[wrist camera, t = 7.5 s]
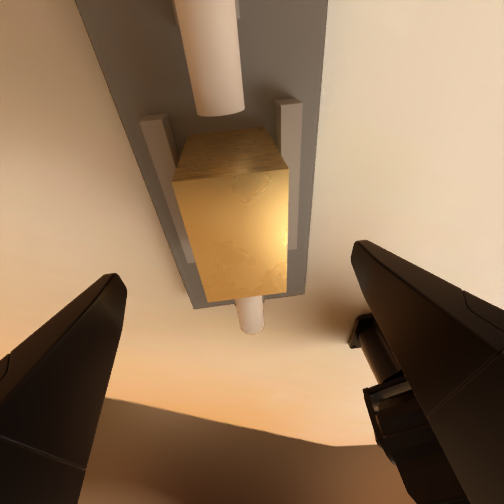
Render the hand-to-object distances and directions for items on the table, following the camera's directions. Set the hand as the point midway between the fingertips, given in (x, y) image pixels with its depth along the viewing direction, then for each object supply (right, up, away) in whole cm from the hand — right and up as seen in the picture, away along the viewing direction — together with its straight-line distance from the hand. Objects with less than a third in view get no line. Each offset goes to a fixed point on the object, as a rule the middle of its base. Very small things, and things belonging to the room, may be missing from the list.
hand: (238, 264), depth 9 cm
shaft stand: (-1, +5, +7) cm, 9 cm away
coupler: (-1, +4, +6) cm, 7 cm away
